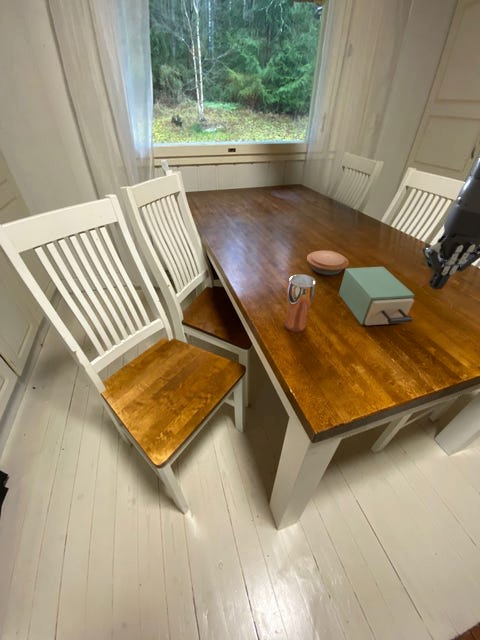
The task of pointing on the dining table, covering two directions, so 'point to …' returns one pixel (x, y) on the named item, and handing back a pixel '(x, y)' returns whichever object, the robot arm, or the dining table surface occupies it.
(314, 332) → the dining table surface
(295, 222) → the dining table surface
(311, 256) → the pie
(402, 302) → the drawer
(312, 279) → the metal cup
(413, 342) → the dining table surface
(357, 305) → the cabinet
